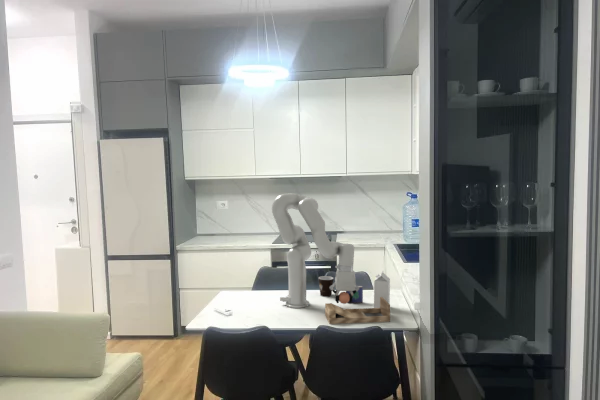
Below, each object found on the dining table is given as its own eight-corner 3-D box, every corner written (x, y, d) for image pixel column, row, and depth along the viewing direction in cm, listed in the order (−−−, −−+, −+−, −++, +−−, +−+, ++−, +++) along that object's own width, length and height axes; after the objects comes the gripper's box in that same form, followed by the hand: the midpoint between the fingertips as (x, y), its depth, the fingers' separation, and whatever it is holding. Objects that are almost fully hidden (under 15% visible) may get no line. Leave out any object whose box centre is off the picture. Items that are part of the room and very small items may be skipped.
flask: (362, 301, 226) (362, 282, 226) (363, 303, 223) (363, 284, 223) (345, 301, 227) (345, 282, 226) (345, 303, 224) (345, 283, 223)
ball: (339, 305, 209) (339, 293, 209) (336, 301, 215) (337, 290, 215) (350, 305, 210) (351, 293, 210) (348, 301, 216) (348, 290, 216)
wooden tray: (329, 324, 193) (329, 307, 193) (325, 314, 206) (325, 299, 205) (389, 321, 196) (390, 304, 196) (381, 312, 209) (382, 297, 208)
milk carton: (389, 306, 218) (390, 271, 216) (387, 311, 211) (388, 274, 210) (376, 305, 220) (376, 270, 219) (373, 309, 213) (374, 273, 212)
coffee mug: (317, 293, 243) (317, 276, 242) (332, 292, 244) (332, 275, 243) (320, 299, 231) (320, 281, 231) (335, 298, 232) (335, 281, 232)
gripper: (330, 269, 207) (328, 304, 208) (364, 270, 208) (361, 305, 210) (327, 265, 214) (325, 299, 215) (360, 266, 216) (358, 300, 217)
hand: (343, 302), depth 213 cm, fingers closed on ball, 6 cm apart
